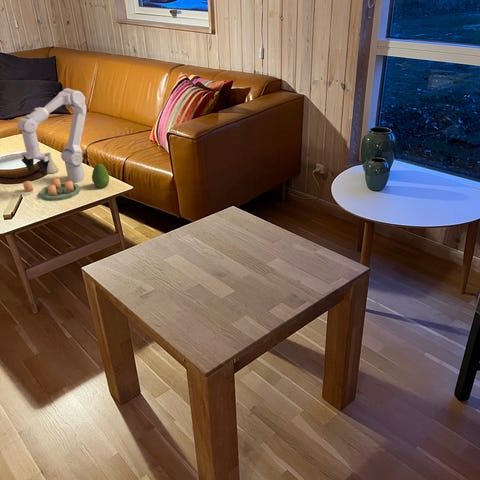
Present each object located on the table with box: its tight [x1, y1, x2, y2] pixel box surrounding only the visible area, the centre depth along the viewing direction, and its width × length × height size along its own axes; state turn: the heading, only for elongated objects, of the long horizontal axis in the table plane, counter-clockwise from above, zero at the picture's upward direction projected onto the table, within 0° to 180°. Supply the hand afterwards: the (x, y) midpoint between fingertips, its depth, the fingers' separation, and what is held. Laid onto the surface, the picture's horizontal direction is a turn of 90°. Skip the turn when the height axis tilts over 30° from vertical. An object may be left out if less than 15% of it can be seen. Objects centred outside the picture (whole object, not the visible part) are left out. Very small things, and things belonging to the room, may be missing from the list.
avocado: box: [91, 163, 110, 189], centre depth 221 cm, size 8×8×12 cm
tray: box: [39, 182, 81, 201], centre depth 217 cm, size 17×17×2 cm
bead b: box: [51, 177, 62, 190], centre depth 219 cm, size 4×4×5 cm
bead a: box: [63, 180, 74, 194], centre depth 216 cm, size 4×4×5 cm
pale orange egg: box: [46, 184, 57, 196], centre depth 212 cm, size 4×4×5 cm
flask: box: [43, 152, 59, 175], centre depth 240 cm, size 7×7×10 cm
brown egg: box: [22, 180, 34, 193], centre depth 218 cm, size 4×4×5 cm
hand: (38, 173), depth 215 cm, fingers open, 7 cm apart
